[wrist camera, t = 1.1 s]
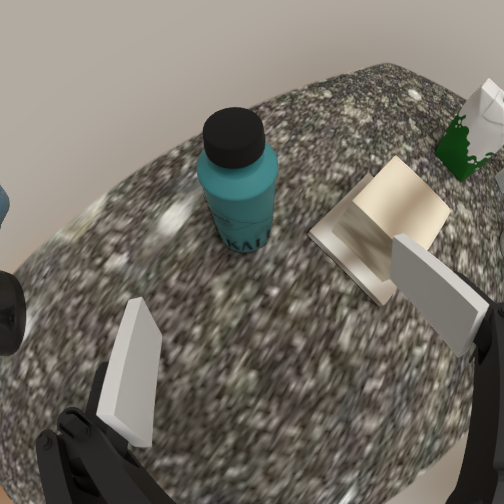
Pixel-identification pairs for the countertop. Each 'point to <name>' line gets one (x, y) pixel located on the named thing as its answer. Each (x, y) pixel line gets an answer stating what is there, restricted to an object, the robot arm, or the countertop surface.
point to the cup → (502, 243)
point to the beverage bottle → (238, 177)
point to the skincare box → (500, 180)
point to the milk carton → (474, 132)
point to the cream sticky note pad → (379, 225)
